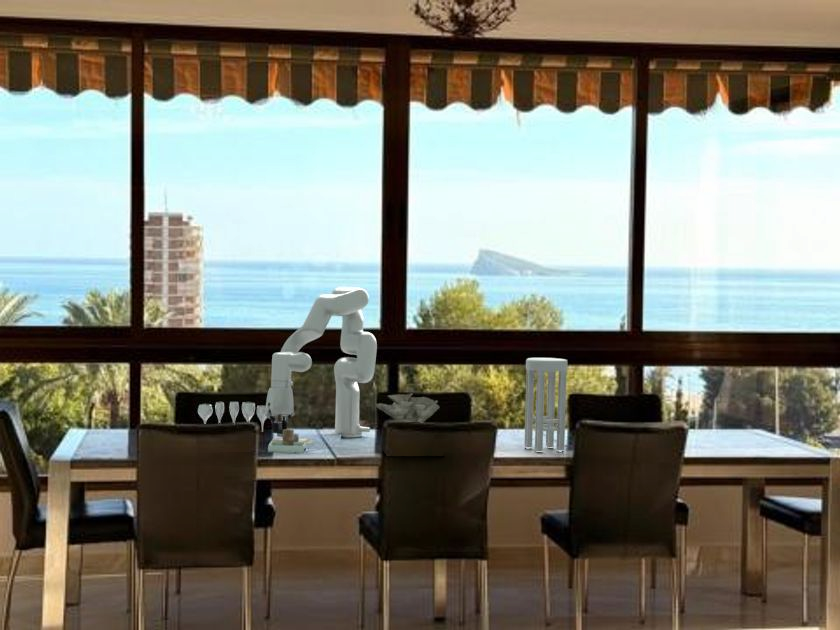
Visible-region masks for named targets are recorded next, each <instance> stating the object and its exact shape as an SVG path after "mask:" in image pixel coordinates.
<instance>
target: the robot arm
mask: <svg viewBox="0 0 840 630" xmlns="http://www.w3.org/2000/svg"><path fill="white" fill-rule="evenodd" d="M369 300H370V296H369V293H368V291H367V290H365V289H364V288H362V287H350V286H338V287H336V288H334V289H333V291H332V293H330V294H328V293H327V294H326V293H325V294H320V295H318V296H317V297H316V299H315V301H314V302H313V304H312V306H311V309H310V310H309V313H308V315H307V317H306V318H305V321H304V323H303V324H302V325H301V326H300V327H299V328H298V329H297V330H295V332H293V333H292V334H290V336H289V337H288V338H287V339H286V341H285V342H284V344H283V346H282V347H281V349H280V351H279V352H274V353H273V354H272V356H271V357H272V359H271V378H270V379H271V380H270V387H269V389H268V391H267V396H266V402H265V406H266V413H265V416H266V417H267V418H266V419H269V420H270V422H271V425H272V426H271V431H272V434H276V435H277V434H278V426H279V424H278V423H277V422H279V420H278V419H279V416H281V422H283V430H284V429H287V428H288V423H289V421H290V420H291V418H292V417H294V416H295V415H296V413H295V410H294V407H295V405H294V404H295V403H294V394H293V393H294V392H293V388H292V386H293V385H294V381H292V372H300V373H304V372H306V371H308V370H309V369H310V368H311V366H312V365H313V361H312V358H311V356H310V355H309V354H308V353H305V352H303V351H300V350H301V348H303V346H305V345H306V344H308V343H310V342H312V341H315V340H317V339H319V338H320V337H322V336H323V335H324V332H325V330H326V328H327V326H328V325H329V322H330V320H331V318H332V317H342V318H341V319H342V320H341V321H342V322H341V323H342V324H341V333H340V343H339V345H340V349H341V351H342V352H343V353H345V354H348V355H352V356H353V355H355V356H356V357H349V356H347V357H346V356H344V357H340V358H339V359H337V361H336V362H335V363H334V366H333V373H334V379H335V380H334V381H335V420H334V422H335V423H334V427H335V428H334V431H331V433H330V434H331V435H332V434H333V435H341V436H340V437H341V438H347V439H348V438H360V437H363V432H365V433H370V432H371V427H369V426H361V424H360V399H361V398H360V397H361V396H360V395H361V394H360V393H361V392H360V388H359V384H358V383H361V384H365V383H369V382H370V381H372V379H373V377H374V374H375V371H376V361H377V359H376V358H377V352H378V351H377V350H378V344H377V339H376V337H375V335H374V334H373V333H371V332H369V331H364V315H363V312H362V310H363V309H364V308H366V307H367V306H368V304H369V302H370V301H369Z"/></svg>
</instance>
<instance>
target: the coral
mask: <svg viewBox="0 0 840 630" xmlns="http://www.w3.org/2000/svg"><path fill="white" fill-rule="evenodd" d="M413 394H414V393H412V392H410V393H408V394H401V393H399V394H398V393H397V394H391V395H390V394H389V395H387V397H388V398H389V399H390V400H391V401H393V403H392V404H386V403H376V404H375V407H376V408H377V409H378V410H380V411H382V412H384V413H385V414H386V415H388V416H389V417H391V418H393V419H394V420H395V422H396V421H404V422H420V423H424V424H425V422H426V421H427V420H428V419H429V418H431V416H433V415H434V414H435V413H436V412H437V411H438V410H440V408H441V407H440V406H439V404H438V402H439V401H438V400H434V399H431V398H429V397H426V396H421V397H418V396H417V397H413Z"/></svg>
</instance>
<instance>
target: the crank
mask: <svg viewBox="0 0 840 630" xmlns="http://www.w3.org/2000/svg"><path fill="white" fill-rule="evenodd" d="M277 423H278V424H279V426H278V434H276V436H277V438H283V422H282V421H277ZM299 436H300V435H299V433H296V432H294V442H299V439H300V437H299Z"/></svg>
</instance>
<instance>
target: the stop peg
mask: <svg viewBox="0 0 840 630" xmlns="http://www.w3.org/2000/svg"><path fill="white" fill-rule="evenodd" d="M294 433H295V431H294V429H284V430H283V437H282V438H283V445H286V446H294V445H293V444H294Z"/></svg>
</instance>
